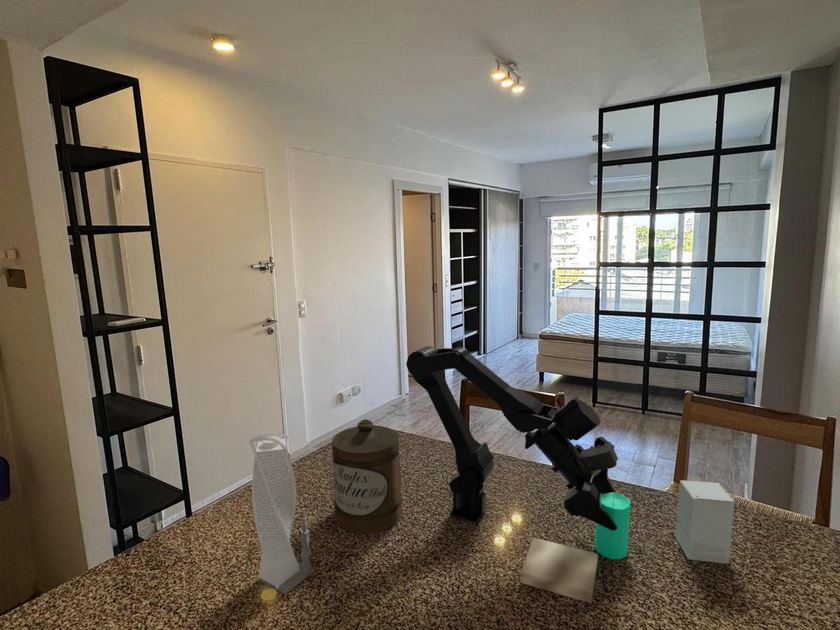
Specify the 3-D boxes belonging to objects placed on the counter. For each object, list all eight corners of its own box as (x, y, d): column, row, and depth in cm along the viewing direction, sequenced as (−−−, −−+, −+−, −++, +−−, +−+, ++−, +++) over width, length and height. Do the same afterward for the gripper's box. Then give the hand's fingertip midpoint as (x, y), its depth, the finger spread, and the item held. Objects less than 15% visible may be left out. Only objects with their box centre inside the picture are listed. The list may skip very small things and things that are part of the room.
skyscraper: (278, 600, 81) (268, 444, 77) (247, 582, 85) (236, 434, 81) (314, 571, 88) (306, 427, 84) (283, 556, 92) (275, 419, 88)
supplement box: (730, 564, 89) (736, 502, 87) (686, 560, 90) (691, 498, 88) (714, 540, 96) (719, 482, 94) (674, 536, 97) (678, 478, 95)
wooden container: (322, 525, 102) (317, 428, 99) (356, 491, 116) (353, 405, 113) (383, 540, 97) (381, 438, 94) (412, 503, 111) (410, 413, 107)
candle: (626, 543, 95) (629, 487, 93) (628, 562, 90) (632, 503, 88) (594, 537, 97) (597, 482, 95) (594, 555, 92) (597, 497, 90)
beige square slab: (520, 582, 85) (520, 572, 84) (533, 546, 94) (533, 537, 94) (591, 603, 80) (592, 592, 79) (597, 563, 89) (597, 553, 89)
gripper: (584, 448, 84) (650, 522, 80) (598, 414, 100) (653, 474, 97) (538, 480, 88) (599, 551, 85) (558, 443, 105) (610, 501, 101)
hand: (617, 516), depth 92 cm, fingers open, 9 cm apart
